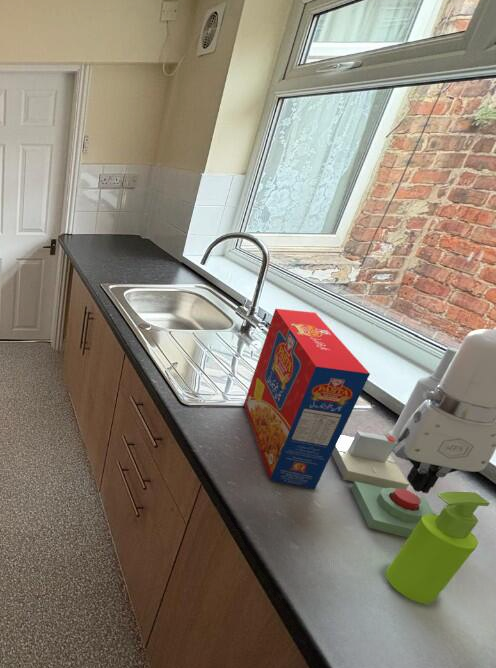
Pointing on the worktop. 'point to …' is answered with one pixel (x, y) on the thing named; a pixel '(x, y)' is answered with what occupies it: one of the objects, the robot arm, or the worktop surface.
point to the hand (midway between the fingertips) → (417, 486)
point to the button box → (387, 510)
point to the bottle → (422, 391)
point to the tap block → (367, 468)
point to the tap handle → (372, 446)
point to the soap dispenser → (436, 548)
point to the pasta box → (301, 396)
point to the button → (405, 499)
